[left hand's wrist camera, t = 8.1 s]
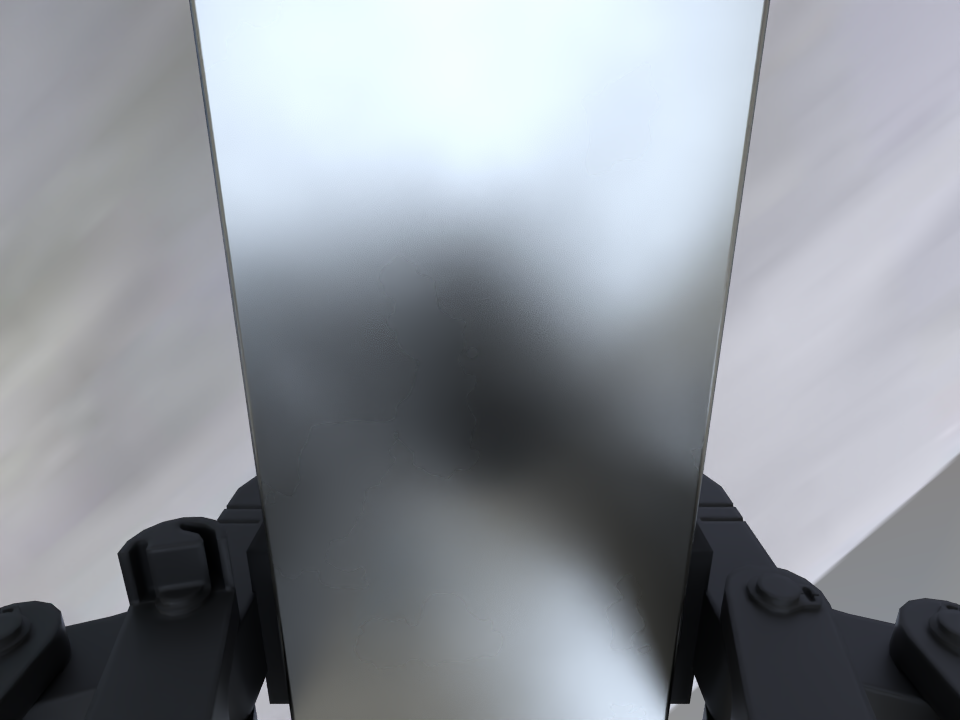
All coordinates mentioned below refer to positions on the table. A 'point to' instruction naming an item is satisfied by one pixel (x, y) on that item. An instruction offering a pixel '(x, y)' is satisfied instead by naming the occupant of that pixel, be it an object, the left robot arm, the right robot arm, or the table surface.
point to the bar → (479, 334)
